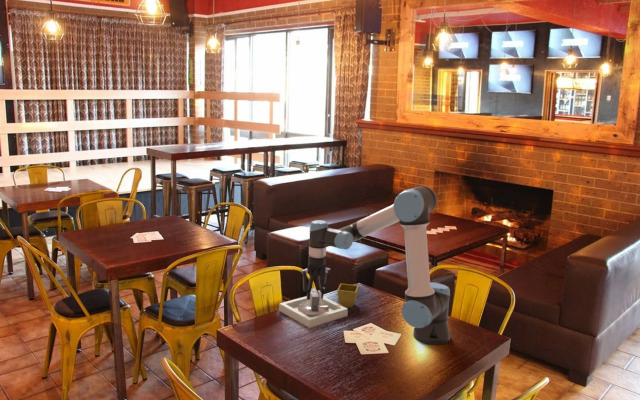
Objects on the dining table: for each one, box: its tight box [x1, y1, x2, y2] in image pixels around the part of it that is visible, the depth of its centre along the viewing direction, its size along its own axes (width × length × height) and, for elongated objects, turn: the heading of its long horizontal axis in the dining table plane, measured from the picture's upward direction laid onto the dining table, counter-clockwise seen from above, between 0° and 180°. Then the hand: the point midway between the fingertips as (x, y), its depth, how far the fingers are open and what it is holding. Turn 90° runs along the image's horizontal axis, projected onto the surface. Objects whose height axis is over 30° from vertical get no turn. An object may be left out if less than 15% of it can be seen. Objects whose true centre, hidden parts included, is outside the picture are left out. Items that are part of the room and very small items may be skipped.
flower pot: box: [337, 283, 359, 309], centre depth 267 cm, size 9×9×9 cm
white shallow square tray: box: [278, 295, 349, 329], centre depth 257 cm, size 22×22×4 cm
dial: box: [298, 288, 329, 317], centre depth 256 cm, size 14×14×8 cm
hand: (314, 305), depth 253 cm, fingers closed on dial, 3 cm apart
